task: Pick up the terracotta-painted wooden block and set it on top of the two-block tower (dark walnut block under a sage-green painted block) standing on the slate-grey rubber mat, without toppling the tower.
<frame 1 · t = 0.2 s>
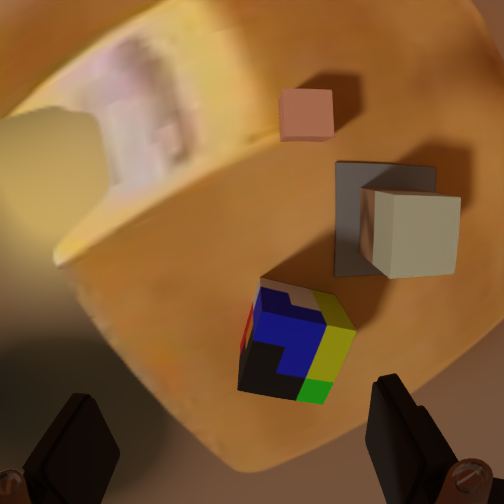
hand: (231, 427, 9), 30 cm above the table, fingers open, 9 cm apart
puzzle toy: (286, 320, 42), on the table
mat: (387, 219, 38), on the table
tower base: (389, 220, 38), resting on mat, touching tower top
tower top: (406, 227, 33), point 5 cm above the table, touching tower base
terracotta block: (300, 120, 35), on the table
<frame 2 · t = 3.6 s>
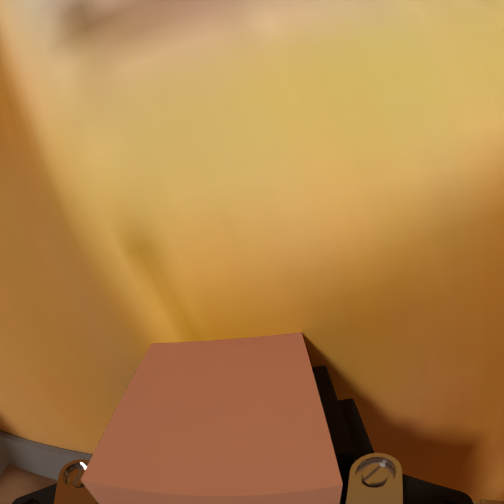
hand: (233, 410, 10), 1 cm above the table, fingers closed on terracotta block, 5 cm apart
terracotta block: (234, 398, 11), on the table, touching gripper
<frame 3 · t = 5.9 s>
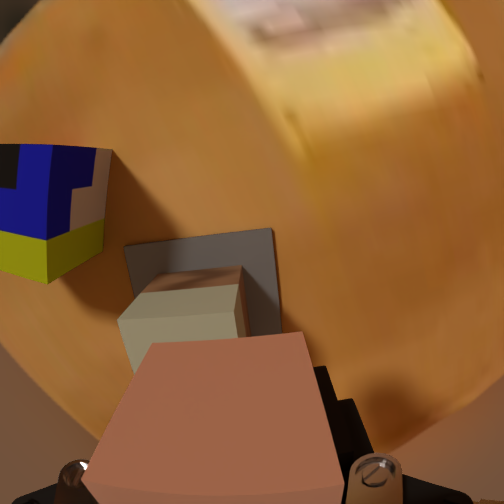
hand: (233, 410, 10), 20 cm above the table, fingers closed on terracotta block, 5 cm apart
puzzle toy: (66, 195, 29), on the table
mat: (206, 307, 31), on the table
tower base: (205, 309, 31), resting on mat, touching tower top
tower top: (196, 334, 26), point 5 cm above the table, touching tower base
terracotta block: (235, 397, 11), point 19 cm above the table, touching gripper
when the fingers open (12 cm above the table, at t = 8.5 s): terracotta block stays where it is, resting on tower top.
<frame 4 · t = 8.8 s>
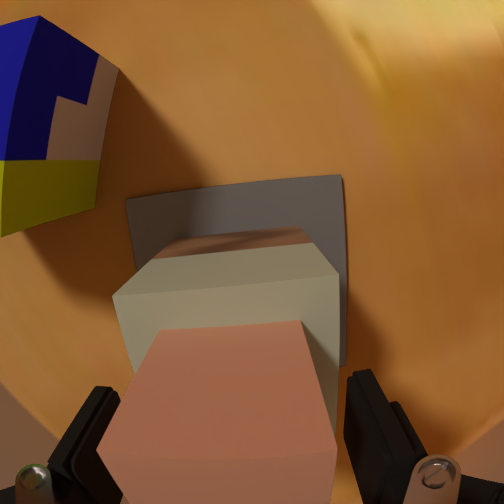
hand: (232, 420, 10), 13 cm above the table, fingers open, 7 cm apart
puzzle toy: (50, 133, 19), on the table
mat: (243, 289, 22), on the table
tower base: (242, 291, 21), resting on mat, touching tower top
tower top: (240, 325, 17), point 5 cm above the table, touching terracotta block, tower base
terracotta block: (236, 382, 12), point 10 cm above the table, touching tower top
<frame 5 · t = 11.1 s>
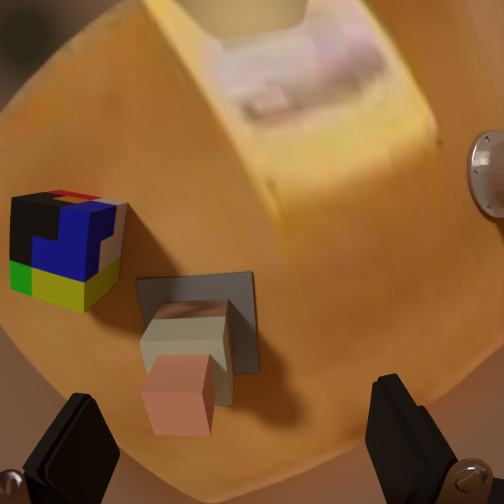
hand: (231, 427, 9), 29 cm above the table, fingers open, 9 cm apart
puzzle toy: (87, 235, 37), on the table
mat: (199, 328, 40), on the table
tower base: (199, 330, 39), resting on mat, touching tower top
tower top: (193, 350, 34), point 5 cm above the table, touching terracotta block, tower base
terracotta block: (187, 375, 29), point 10 cm above the table, touching tower top
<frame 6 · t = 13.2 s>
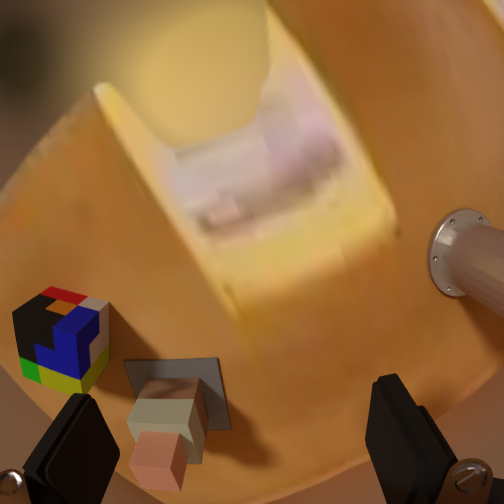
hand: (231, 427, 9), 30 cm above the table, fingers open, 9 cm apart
puzzle toy: (80, 323, 42), on the table
mat: (178, 397, 45), on the table
tower base: (178, 398, 44), resting on mat, touching tower top
tower top: (171, 420, 39), point 5 cm above the table, touching terracotta block, tower base
terracotta block: (164, 444, 34), point 10 cm above the table, touching tower top
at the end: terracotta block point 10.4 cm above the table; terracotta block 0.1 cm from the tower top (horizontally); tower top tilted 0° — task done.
